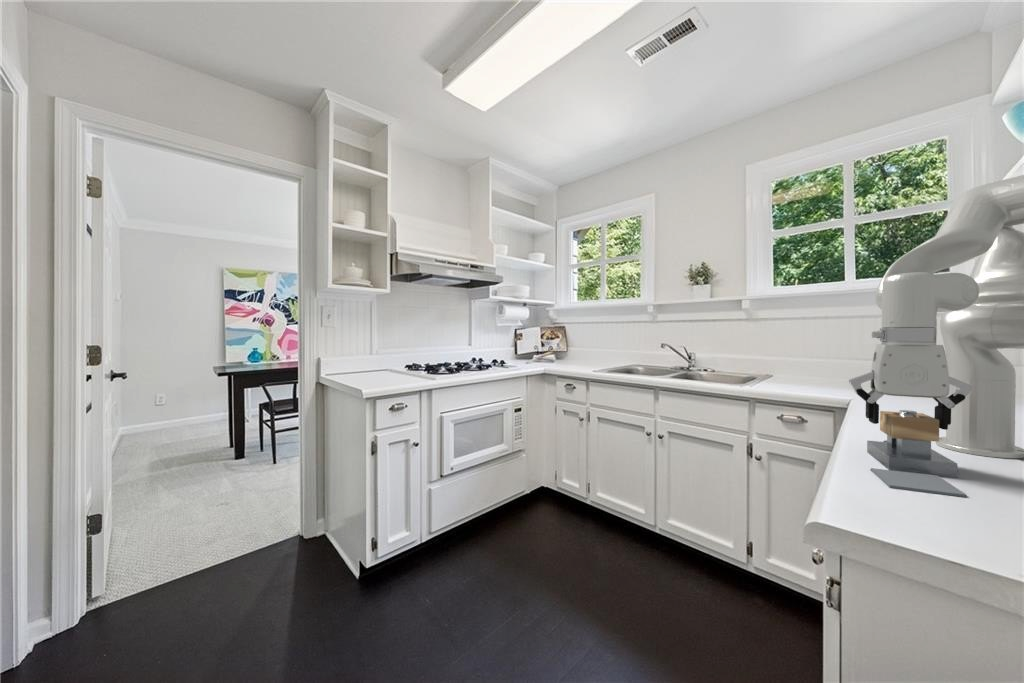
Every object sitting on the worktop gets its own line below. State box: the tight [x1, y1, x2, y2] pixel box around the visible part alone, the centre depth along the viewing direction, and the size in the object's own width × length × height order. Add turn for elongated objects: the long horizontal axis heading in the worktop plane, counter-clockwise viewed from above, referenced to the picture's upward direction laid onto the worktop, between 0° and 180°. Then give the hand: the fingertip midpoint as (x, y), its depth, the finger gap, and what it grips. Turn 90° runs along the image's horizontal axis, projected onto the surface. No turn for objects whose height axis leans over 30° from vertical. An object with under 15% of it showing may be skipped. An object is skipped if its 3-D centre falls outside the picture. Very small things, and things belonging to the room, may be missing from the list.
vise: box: [866, 409, 958, 478], centre depth 78 cm, size 17×9×10 cm, turn 152°
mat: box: [870, 467, 968, 498], centre depth 67 cm, size 9×9×1 cm
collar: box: [879, 410, 940, 443], centre depth 76 cm, size 6×6×4 cm
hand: (906, 425), depth 75 cm, fingers open, 9 cm apart
